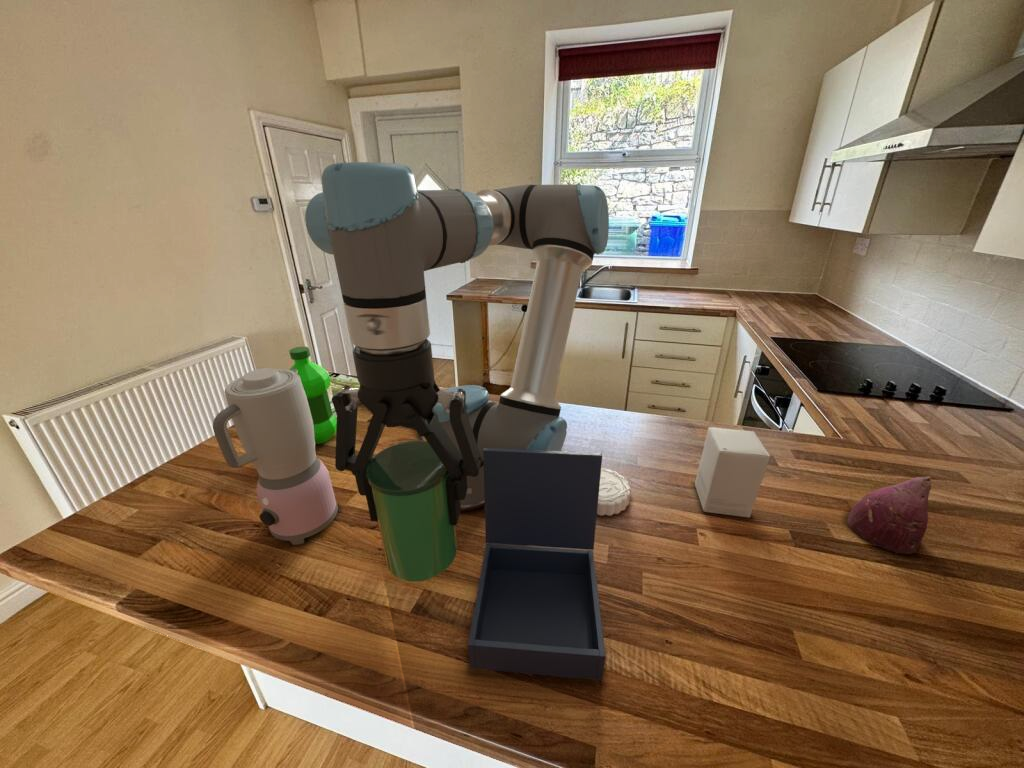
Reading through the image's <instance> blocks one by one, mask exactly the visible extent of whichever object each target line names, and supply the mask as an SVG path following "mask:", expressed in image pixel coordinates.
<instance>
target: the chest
mask: <svg viewBox="0 0 1024 768" xmlns="http://www.w3.org/2000/svg"><path fill="white" fill-rule="evenodd" d="M484 547H485V548H484V553H483V559H482V564H481V570H480V575H479V581H478V587H477V591H476V597H475V604H474V608H473V614H472V619H471V625H470V631H469V636H468V641H467V651H468V662H469V669H474V670H475V669H476V670H486V671H487V670H488V671H496V672H497V671H498V672H509V673H510V672H511V673H521V674H530V675H531V674H533V675H542V676H543V675H544V676H555V677H567V678H577V679H589V680H601V681H603V675H604V670H605V664H606V657H607V656H606V647H605V640H604V630H603V623H602V614H601V605H600V597H599V589H598V588H599V587H598V579H597V573H596V564H595V555H594V549H593V550H588V549H573V548H557V547H541V546H526V545H510V544H494V543H485V546H484Z"/></svg>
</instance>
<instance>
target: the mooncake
mask: <svg viewBox="0 0 1024 768" xmlns="http://www.w3.org/2000/svg"><path fill="white" fill-rule="evenodd" d="M631 491H632V489H631V486H630V483H629V480H626V478H625V476H623V475H621V474H620V473H619V472H617V471H614V470H612V469H610V468H604V467H601V475H600V486H599V496H598V507H597V516H605V515H606V516H607V517H608V516H609V517H610V516H612V515H618V514H620V513H621V512H623V511H625V510H626V509H627V507H628V506H629V504H630V499H631Z"/></svg>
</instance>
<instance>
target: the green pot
mask: <svg viewBox="0 0 1024 768" xmlns="http://www.w3.org/2000/svg"><path fill="white" fill-rule="evenodd" d="M366 475H367V480H368V483H369V484H370V486H371V490H372V495H373V500H374V505H375V510H376V515H377V520H378V521H377V524H378V530H379V535H380V540H381V545H382V548H383V554H384V559H385V564H386V567H387V569H388V571H389V572H390V573H391V574H392V575H393V576H394V577H396V578H397V579H398V580H399V579H400V580H402V581H405V582H411V583H412V582H416V583H417V582H425V581H428V580H431V579H433V578H435V577H437V576H439V575H441V574H442V573H443V572H445V571H446V570H447V569H448V568H449V567H450V566H451V564H452V563H453V562H454V560H455V558H456V556H457V551H458V543H457V542H458V541H457V530H456V526H455V525H450V515H449V505H448V495H447V484H446V481H447V478H448V476H449V472H448V471H447V469H446V468H445V466H444V465H443V463H442V462H441V460H440V459H439V458H438V456H437V455H436V453H435V452H434V450H433V449H432V447H431V446H430V445H429V443H428V442H427V440H423V441H420V440H408V441H403V442H402V441H401V442H399V443H396V444H395V443H394V444H393V445H390V446H388V447H386V448H384V449H382V450H380V451H379V452H378V453H377V454H375V455H373V456H372V459H371V461H370V462H369V464H368V466H367V470H366Z"/></svg>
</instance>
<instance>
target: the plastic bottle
mask: <svg viewBox="0 0 1024 768" xmlns="http://www.w3.org/2000/svg"><path fill="white" fill-rule="evenodd" d="M288 352H289V353H288V354H289V356H290V359H291V360H293V361H294V364H293V365H292V366H291V367H290V368H289V369H296V370H298V373H297V374H298V375H299V376H300V379H301V382H302V385H303V388H304V391H305V394H306V397H307V400H308V404H309V408H310V412H311V416H312V420H313V425H314V437H315V445H318V444H323V443H324V444H325V443H326V442H328V441H330V440H331V439H332V438H333V437H334V435H336V428H337V416H336V415H335V414H334V412H333V409H332V405H331V400H330V396H329V391H328V389H329V388H330V386H331V382H332V381H331V375H330V374H329V372H328V371H327V370H326V369H325V368H324V366H322V365H319V364H317V363H315V362H313V361H310V358H309V357H311V355H312V354H311V351H310V348H309V347H308V346H304V345H303V346H296V347H293V348H290V349H289V350H288Z"/></svg>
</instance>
